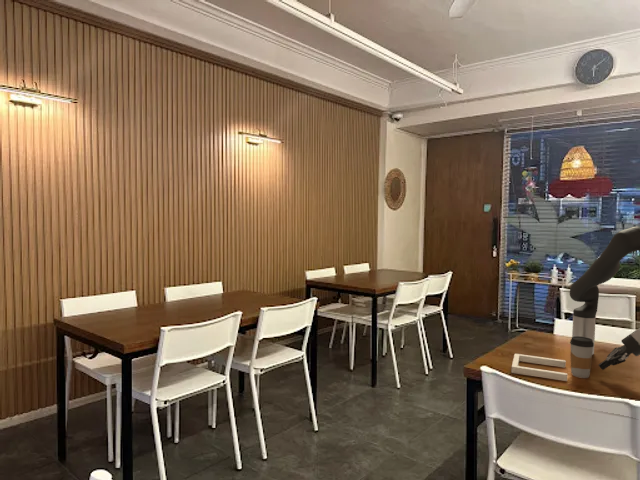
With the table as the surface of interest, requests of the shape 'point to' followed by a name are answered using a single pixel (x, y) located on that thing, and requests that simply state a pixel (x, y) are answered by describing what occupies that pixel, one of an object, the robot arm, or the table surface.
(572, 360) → the coffee cup
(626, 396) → the table surface
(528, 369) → the frame
